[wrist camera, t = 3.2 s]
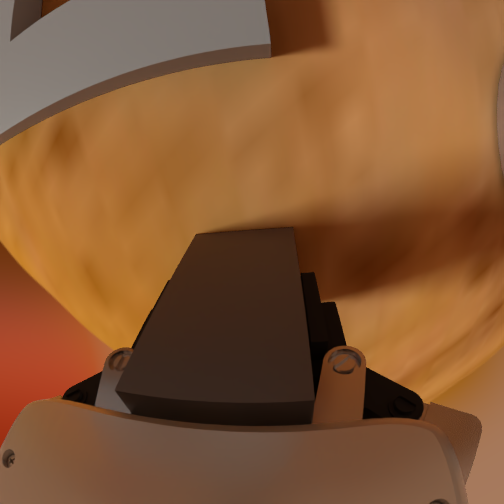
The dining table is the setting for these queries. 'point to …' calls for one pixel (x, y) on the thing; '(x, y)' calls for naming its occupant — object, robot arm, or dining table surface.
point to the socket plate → (113, 48)
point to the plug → (227, 337)
